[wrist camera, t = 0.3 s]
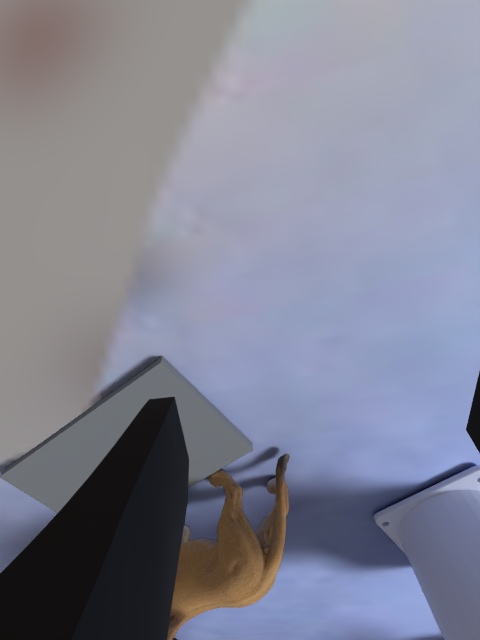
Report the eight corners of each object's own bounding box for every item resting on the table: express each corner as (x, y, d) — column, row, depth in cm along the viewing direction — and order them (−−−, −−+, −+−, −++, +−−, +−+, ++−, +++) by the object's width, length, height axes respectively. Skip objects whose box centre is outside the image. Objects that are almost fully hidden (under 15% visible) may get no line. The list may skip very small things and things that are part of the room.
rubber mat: (251, 442, 22) (252, 450, 21) (102, 530, 25) (100, 539, 25) (162, 356, 19) (160, 362, 18) (4, 468, 22) (-1, 476, 22)
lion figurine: (162, 565, 27) (137, 742, 19) (104, 536, 26) (50, 719, 18) (311, 466, 23) (358, 638, 15) (256, 422, 21) (276, 592, 13)
